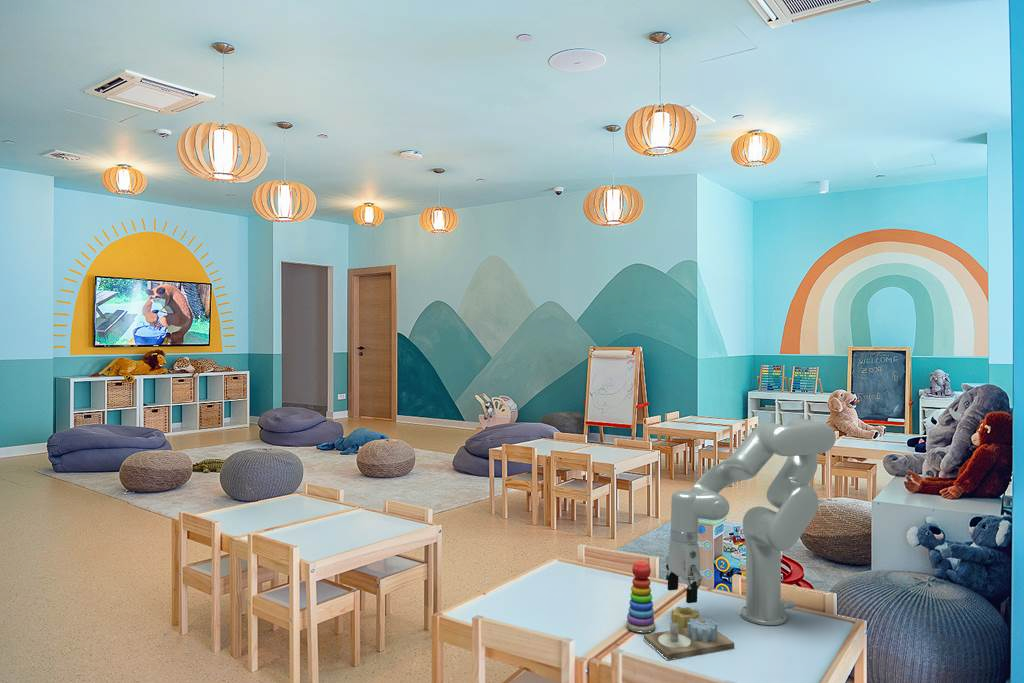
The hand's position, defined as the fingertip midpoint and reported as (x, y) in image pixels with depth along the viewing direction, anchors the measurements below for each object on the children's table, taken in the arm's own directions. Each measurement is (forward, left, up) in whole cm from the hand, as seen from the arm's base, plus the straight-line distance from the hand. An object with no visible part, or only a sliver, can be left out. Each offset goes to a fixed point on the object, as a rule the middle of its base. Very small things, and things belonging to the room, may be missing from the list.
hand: (681, 596), depth 197 cm
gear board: (+5, +11, -8) cm, 15 cm away
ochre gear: (-1, 0, -8) cm, 8 cm away
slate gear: (+1, +11, -7) cm, 13 cm away
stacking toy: (+12, -2, -8) cm, 15 cm away
